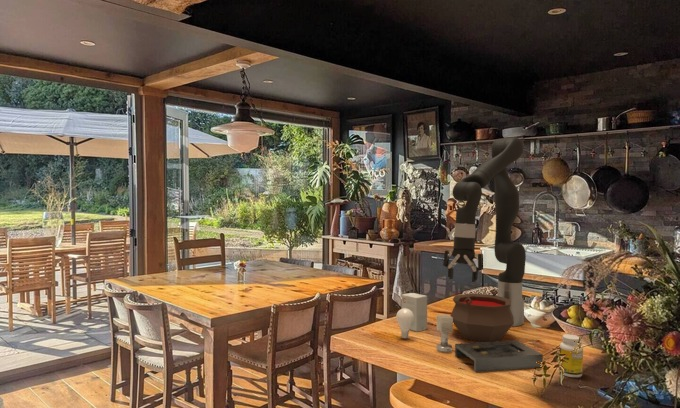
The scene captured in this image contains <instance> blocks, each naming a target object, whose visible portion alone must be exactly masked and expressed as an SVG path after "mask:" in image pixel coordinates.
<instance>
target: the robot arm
mask: <svg viewBox="0 0 680 408" xmlns="http://www.w3.org/2000/svg"><path fill="white" fill-rule="evenodd" d="M523 152H524V144H523V141H522V139H520V138H519V137H513V136H512V137H503V138H496V139H495V140H494V141H493V142H492V144H491V158H490V159H488V160H486V161H485V162H483V163H481V164H480V165H478V166H477V168H476V169H475V170H474V171H473V172H471V174H468V175H467V176H465V177H463V178H461V179H460V180H459V181H457V182H456V183H455V184H454V186H453V188H452V197H453V198H454V199H455V200H456V201H459V202H465V205H464V206H463V207H458V208H457V209H456V212H455V225H454V226H455V227H454V231H453V250H445V251H444V256H443V263H442V265H443V266H444V267H445V268H446V269H447V277H448V279H449V280H454V279H453V278H454V267H455V266H456V265H457V264H463V265H469V267H470V268H471V269H472V272H471V273H472V277H471V282H472V283H476V281H478V277H479V276H478V275H479V274H478V273H479V271H483V270H484V253H476V252H475V249H476V248H475V246H476V215H477V211H478V208H479V204H480V203H481V202H480V201H481V199H482V195H483V191H482V189H484V188H485V187H486V186H487V185H489V183H490V182H491V181H492V180H494V207H495V209H494V210H495V236H494V237H495V238H494V257H495V259H496V260H497V262H499V263H502V264H505V265H506V266H505V267H506V268H505V271H502V272H499V273H498V278H497V279H498V280H497V282H498V283H497V287H498V288H497V292H498V294H497V296H500V297H503V298H507V299H510V300H511V306H510V310H511V312H512V315H513V317H514V324H513V325H512V326H511V327H520V326H521V325H524V324H525V301H524V300H523V278H524V277H525V272H526V257H527V256H526V253H527V252H526V250H525V246H524V245H523V244H522V243H519V242H514V241H512V227H513V224H514V223H515V221H516V218H517V216H518V214H519V211H520V192H519V191H518V188H517V187H516V185H515V183H514V182H513V180H512V179H511V177H510V175H509V173H508V170H507V169H508V168H507V167H508V166H510V165H511V164H513V163H514V162H516V161H518V160H519V159H520V158H521V157H522V155H523ZM451 256H453V260H451V261H450V257H451ZM475 258H476V260H477V265H476V263H475V261H474V259H475Z"/></svg>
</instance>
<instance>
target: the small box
mask: <svg viewBox="0 0 680 408" xmlns="http://www.w3.org/2000/svg"><path fill="white" fill-rule="evenodd" d="M403 308H407V309H409V310H411V311H412V313H413V315H414V320H413V323H412V324H411V326H410V329H409V331H413V332H421V331H424V330H427V329H428V295H424V294H420V293H414V292H409V293H403V294H401V309H403Z"/></svg>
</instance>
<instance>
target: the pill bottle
mask: <svg viewBox="0 0 680 408" xmlns="http://www.w3.org/2000/svg"><path fill="white" fill-rule="evenodd" d="M579 337H580V336H579V335H575V334H568V333H567V334H566V333H564V334H562V338H561V339H562V342H560V343H559V350H558V352H559V354H568V355H567V356H566V357H564V358H563V359H564V360H565V361H567V362H568V363H565V362H562V363H561V365H563V367H564V368H563V369H564V375H563V376H564V377H568V378H581V377H582V376H583V367H584V366H583V365H584V364H583V363H584V362H583V361H584V348H583V347H584V346H582V347H581V348H580V349H579V350H578V353H577V356H576V358H575V351H573V352H571V351H572V350H573V349H574V348H575V347H578V344H577V343H576V342H578V340H579ZM574 341H575V342H574ZM570 352H571V353H570ZM569 353H570V354H569ZM559 354H558V355H559ZM560 370H561V367H559V366H558V371H559V372H558V373H560Z"/></svg>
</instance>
